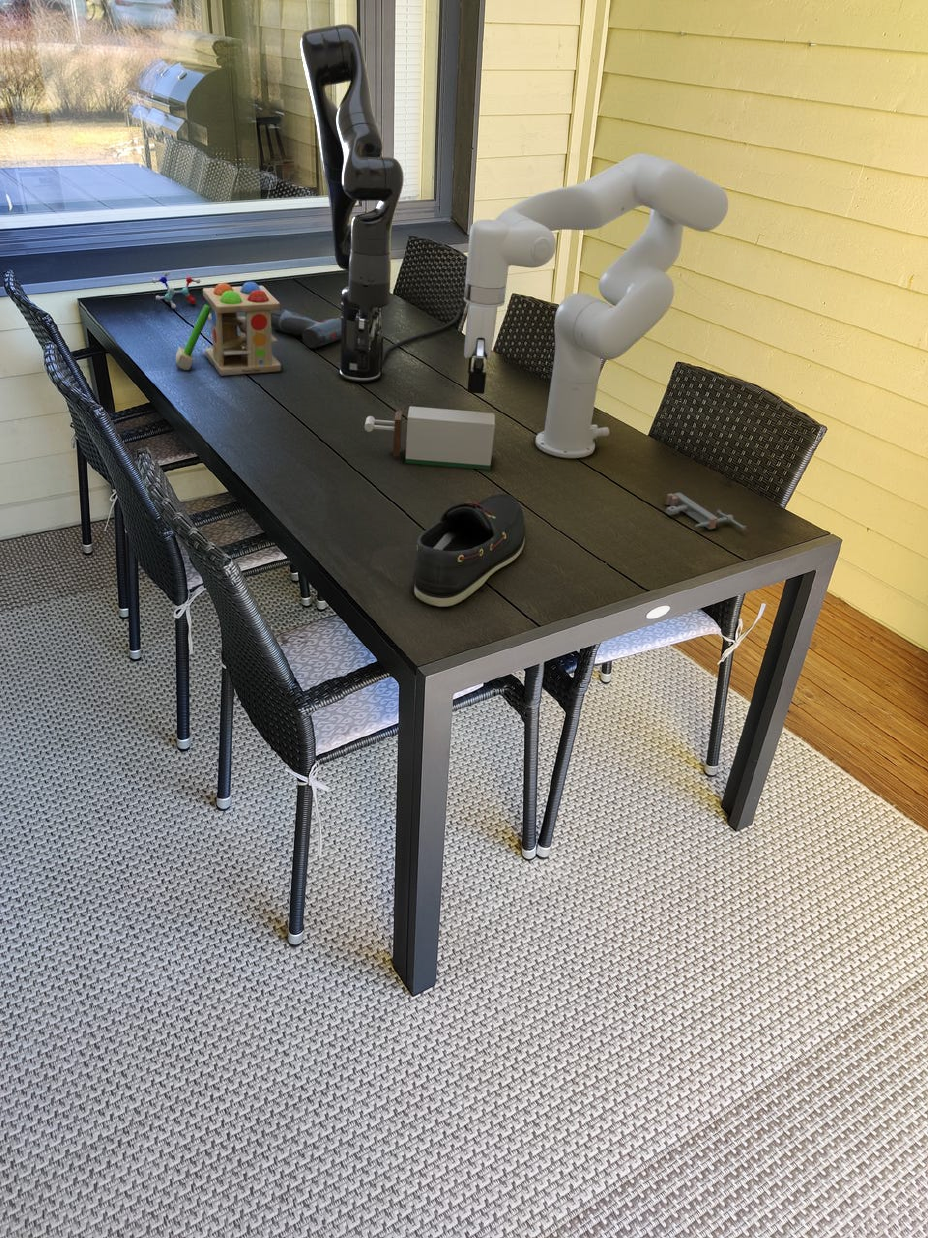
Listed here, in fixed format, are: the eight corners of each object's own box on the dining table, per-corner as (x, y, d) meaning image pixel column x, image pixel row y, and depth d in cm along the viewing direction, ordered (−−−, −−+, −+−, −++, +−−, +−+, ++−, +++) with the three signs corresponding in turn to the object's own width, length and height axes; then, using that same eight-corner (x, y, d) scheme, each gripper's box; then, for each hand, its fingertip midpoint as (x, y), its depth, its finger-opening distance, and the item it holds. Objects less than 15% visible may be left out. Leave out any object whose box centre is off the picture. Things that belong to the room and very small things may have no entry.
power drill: (305, 316, 264) (364, 334, 256) (257, 332, 251) (318, 351, 243) (305, 296, 261) (365, 314, 253) (257, 311, 248) (318, 330, 240)
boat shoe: (551, 538, 175) (557, 484, 170) (450, 614, 151) (453, 554, 146) (489, 517, 181) (493, 465, 175) (383, 588, 157) (383, 530, 151)
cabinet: (405, 463, 195) (407, 417, 189) (407, 451, 200) (409, 406, 194) (490, 470, 196) (494, 424, 190) (489, 458, 200) (494, 413, 195)
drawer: (363, 454, 195) (364, 416, 190) (365, 445, 198) (366, 408, 194) (472, 463, 195) (475, 425, 191) (472, 453, 199) (475, 417, 195)
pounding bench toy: (183, 379, 220) (176, 299, 210) (169, 357, 231) (162, 280, 221) (282, 371, 230) (280, 294, 220) (264, 350, 240) (262, 276, 230)
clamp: (655, 496, 187) (694, 487, 191) (652, 506, 188) (692, 497, 192) (708, 532, 176) (748, 523, 181) (705, 543, 177) (745, 533, 182)
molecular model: (184, 300, 255) (170, 262, 254) (156, 313, 259) (142, 276, 258) (209, 302, 266) (196, 266, 265) (181, 315, 270) (168, 279, 268)
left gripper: (356, 264, 184) (355, 349, 193) (341, 284, 172) (339, 373, 181) (396, 268, 183) (392, 353, 193) (383, 289, 172) (380, 378, 181)
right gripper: (465, 278, 186) (457, 365, 195) (463, 305, 171) (455, 398, 181) (504, 282, 186) (494, 369, 196) (506, 309, 172) (495, 401, 181)
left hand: (367, 363), depth 187 cm, fingers open, 8 cm apart
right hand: (475, 383), depth 188 cm, fingers open, 9 cm apart
